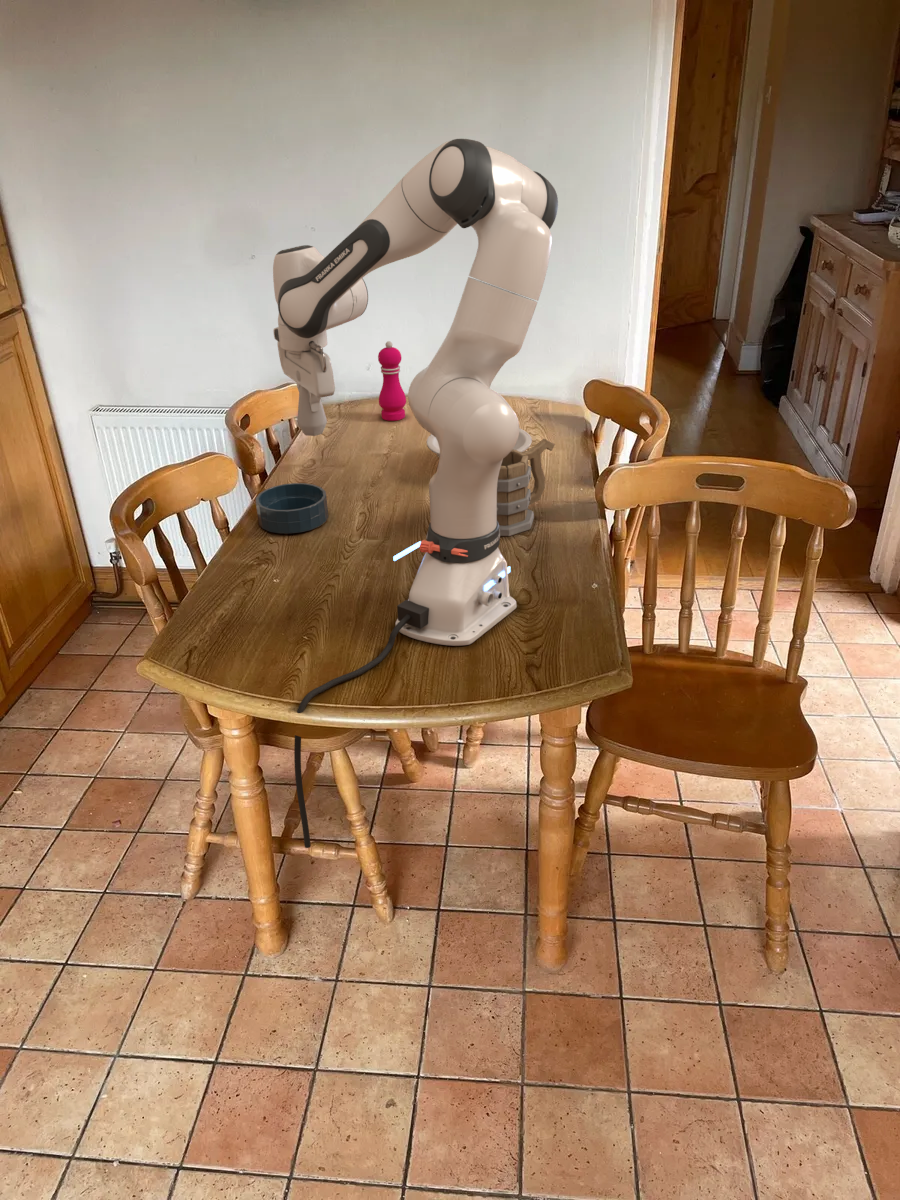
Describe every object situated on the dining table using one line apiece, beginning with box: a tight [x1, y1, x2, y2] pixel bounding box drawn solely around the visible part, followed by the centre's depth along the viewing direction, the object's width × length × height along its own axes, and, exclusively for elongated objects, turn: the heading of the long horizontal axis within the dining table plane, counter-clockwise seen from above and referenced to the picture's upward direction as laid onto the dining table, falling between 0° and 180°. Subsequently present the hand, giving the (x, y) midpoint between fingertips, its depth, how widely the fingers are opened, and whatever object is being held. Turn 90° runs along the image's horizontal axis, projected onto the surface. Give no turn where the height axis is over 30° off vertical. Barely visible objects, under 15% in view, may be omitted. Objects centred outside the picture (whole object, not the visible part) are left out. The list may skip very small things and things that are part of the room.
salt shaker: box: [296, 371, 328, 437], centre depth 181 cm, size 6×6×13 cm
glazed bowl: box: [255, 482, 330, 534], centre depth 190 cm, size 14×14×6 cm
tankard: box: [497, 438, 556, 537], centre depth 185 cm, size 20×13×15 cm, turn 123°
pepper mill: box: [377, 340, 407, 422], centre depth 240 cm, size 7×7×20 cm
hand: (310, 407), depth 182 cm, fingers closed on salt shaker, 3 cm apart
